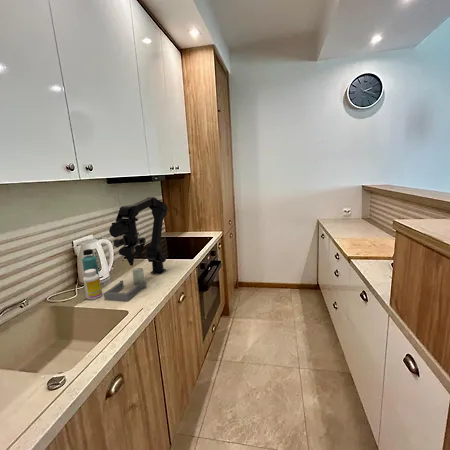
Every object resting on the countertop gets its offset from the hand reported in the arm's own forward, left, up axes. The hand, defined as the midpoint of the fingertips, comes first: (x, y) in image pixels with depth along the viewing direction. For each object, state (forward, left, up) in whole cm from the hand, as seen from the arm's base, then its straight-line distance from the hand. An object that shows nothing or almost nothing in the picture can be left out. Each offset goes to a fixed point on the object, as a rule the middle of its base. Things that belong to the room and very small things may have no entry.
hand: (135, 261), depth 129 cm
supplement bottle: (+15, -14, -12) cm, 24 cm away
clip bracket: (+10, -1, -12) cm, 16 cm away
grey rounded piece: (-2, -1, -12) cm, 12 cm away
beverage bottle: (+7, -21, -12) cm, 25 cm away
